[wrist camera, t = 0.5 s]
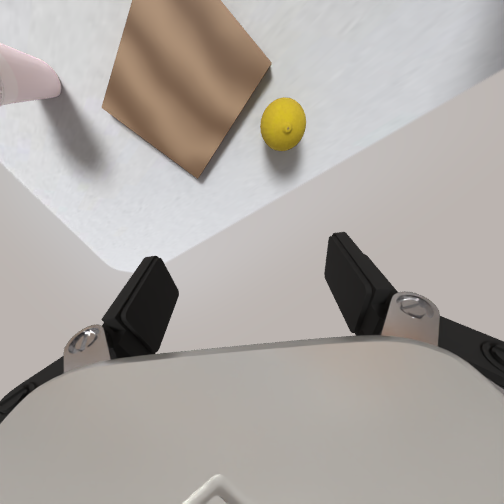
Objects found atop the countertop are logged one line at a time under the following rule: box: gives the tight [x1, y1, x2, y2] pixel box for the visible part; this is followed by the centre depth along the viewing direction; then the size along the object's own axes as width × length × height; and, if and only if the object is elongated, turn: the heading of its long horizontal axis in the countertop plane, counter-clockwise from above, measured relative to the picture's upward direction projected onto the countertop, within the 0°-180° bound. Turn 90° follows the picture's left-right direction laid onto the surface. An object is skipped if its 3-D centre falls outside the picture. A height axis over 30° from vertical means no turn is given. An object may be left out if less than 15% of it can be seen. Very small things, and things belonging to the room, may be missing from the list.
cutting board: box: [102, 0, 271, 179], centre depth 24 cm, size 17×14×2 cm
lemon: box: [260, 98, 306, 151], centre depth 24 cm, size 6×6×8 cm
